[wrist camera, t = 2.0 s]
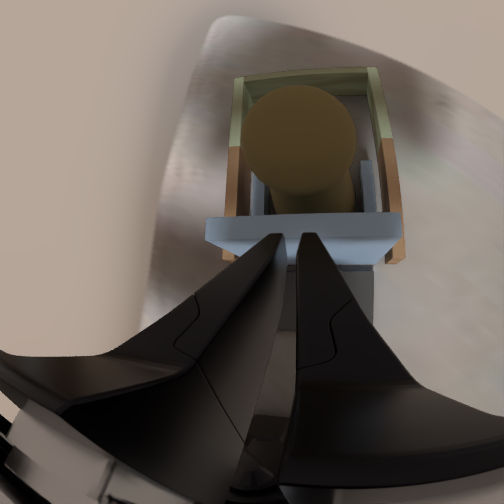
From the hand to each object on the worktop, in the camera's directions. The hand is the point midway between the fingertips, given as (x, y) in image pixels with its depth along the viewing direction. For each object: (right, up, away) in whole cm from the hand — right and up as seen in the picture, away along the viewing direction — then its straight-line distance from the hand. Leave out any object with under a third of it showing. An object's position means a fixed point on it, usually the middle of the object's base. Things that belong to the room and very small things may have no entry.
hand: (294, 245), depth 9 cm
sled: (+3, +2, +13) cm, 13 cm away
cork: (+3, +3, +13) cm, 14 cm away
